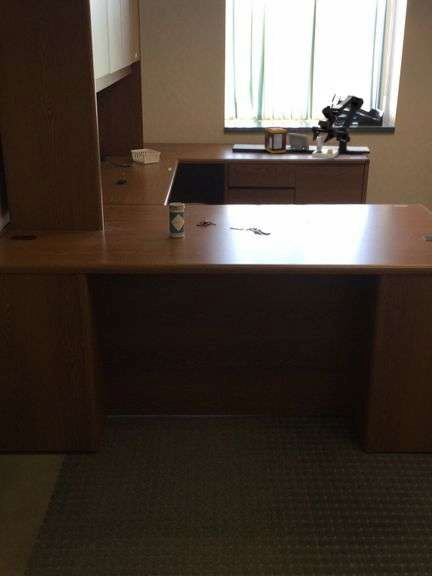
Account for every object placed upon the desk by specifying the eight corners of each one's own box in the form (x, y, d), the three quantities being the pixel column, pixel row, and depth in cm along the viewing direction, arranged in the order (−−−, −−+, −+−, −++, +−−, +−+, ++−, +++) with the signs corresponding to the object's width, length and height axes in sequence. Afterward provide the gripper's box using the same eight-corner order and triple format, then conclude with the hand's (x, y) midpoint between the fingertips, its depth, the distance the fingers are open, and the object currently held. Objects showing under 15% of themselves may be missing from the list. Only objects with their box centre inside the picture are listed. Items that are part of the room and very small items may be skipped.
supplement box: (277, 148, 454) (278, 126, 447) (286, 152, 440) (287, 129, 434) (264, 149, 451) (264, 127, 444) (272, 153, 437) (273, 130, 431)
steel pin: (316, 155, 431) (317, 136, 426) (321, 155, 431) (322, 136, 426) (316, 156, 428) (317, 137, 423) (321, 156, 428) (322, 137, 422)
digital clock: (310, 149, 449) (311, 134, 444) (301, 151, 444) (302, 136, 439) (294, 146, 460) (295, 131, 456) (285, 147, 455) (286, 132, 451)
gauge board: (317, 152, 441) (318, 144, 439) (338, 153, 436) (338, 146, 434) (312, 156, 428) (312, 149, 426) (333, 158, 423) (333, 150, 421)
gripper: (313, 114, 427) (302, 132, 425) (336, 117, 415) (325, 136, 413) (319, 124, 436) (309, 142, 433) (342, 127, 423) (331, 146, 421)
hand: (318, 141), depth 425 cm, fingers open, 9 cm apart
